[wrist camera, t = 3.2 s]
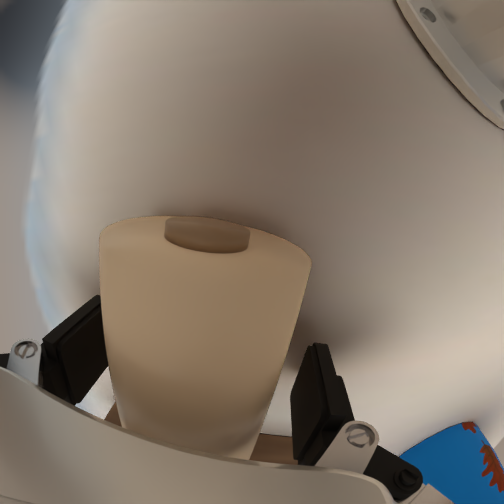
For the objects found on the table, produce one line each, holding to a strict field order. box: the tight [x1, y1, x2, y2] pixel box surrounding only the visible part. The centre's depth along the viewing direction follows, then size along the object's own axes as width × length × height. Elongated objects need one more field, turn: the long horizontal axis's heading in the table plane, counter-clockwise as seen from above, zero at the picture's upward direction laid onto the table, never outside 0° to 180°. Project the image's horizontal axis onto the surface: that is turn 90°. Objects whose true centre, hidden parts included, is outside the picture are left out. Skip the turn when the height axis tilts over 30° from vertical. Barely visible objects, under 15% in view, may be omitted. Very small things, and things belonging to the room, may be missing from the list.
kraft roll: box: [99, 216, 312, 460], centre depth 9 cm, size 11×6×6 cm, turn 170°
